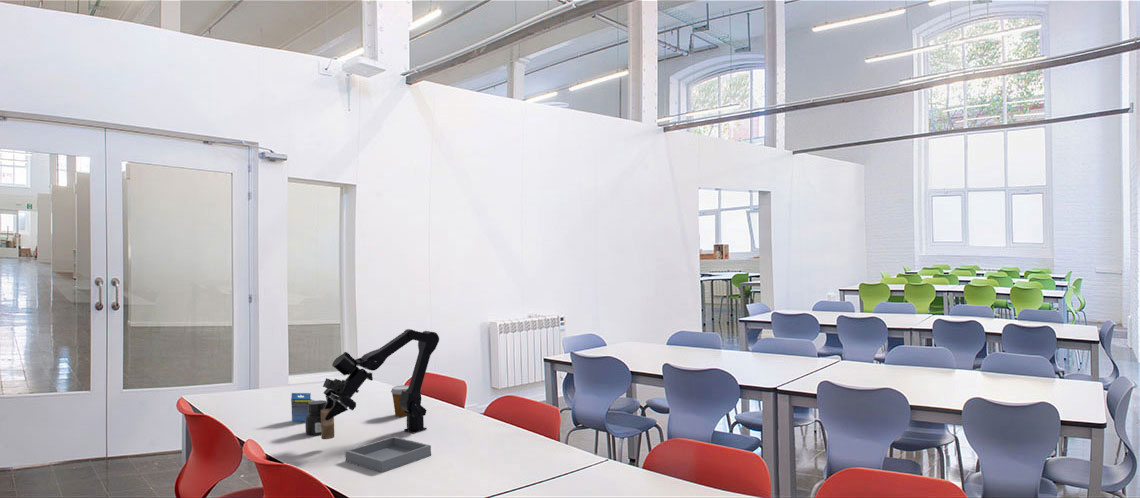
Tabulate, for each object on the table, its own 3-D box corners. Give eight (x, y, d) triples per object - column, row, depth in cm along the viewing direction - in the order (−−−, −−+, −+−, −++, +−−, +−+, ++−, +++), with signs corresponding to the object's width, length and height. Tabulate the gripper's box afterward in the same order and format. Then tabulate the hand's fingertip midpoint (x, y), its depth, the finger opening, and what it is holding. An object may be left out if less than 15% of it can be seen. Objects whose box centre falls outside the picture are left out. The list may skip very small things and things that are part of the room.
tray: (431, 455, 221) (430, 445, 221) (382, 472, 205) (382, 461, 205) (394, 446, 233) (393, 436, 233) (345, 461, 217) (345, 451, 217)
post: (336, 436, 232) (336, 409, 232) (325, 439, 228) (325, 411, 229) (329, 435, 235) (329, 407, 235) (318, 438, 231) (318, 410, 231)
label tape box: (316, 419, 274) (315, 390, 274) (311, 422, 270) (310, 393, 270) (296, 419, 275) (295, 390, 275) (291, 422, 271) (290, 393, 271)
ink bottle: (320, 436, 248) (320, 405, 248) (300, 435, 250) (299, 405, 250) (334, 429, 257) (334, 399, 257) (315, 428, 259) (314, 399, 259)
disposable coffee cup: (411, 417, 273) (410, 389, 273) (388, 418, 273) (388, 389, 273) (416, 412, 283) (416, 384, 283) (395, 412, 283) (394, 385, 283)
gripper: (328, 366, 241) (298, 401, 234) (346, 373, 227) (315, 410, 220) (349, 384, 246) (321, 418, 239) (368, 391, 232) (339, 428, 225)
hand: (323, 418), depth 231 cm, fingers closed on post, 4 cm apart
